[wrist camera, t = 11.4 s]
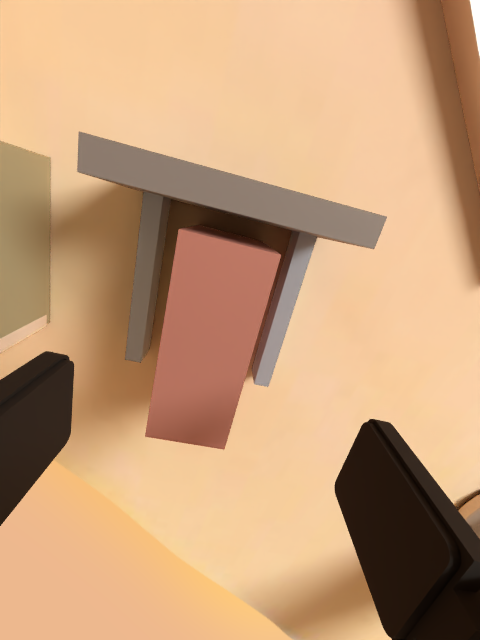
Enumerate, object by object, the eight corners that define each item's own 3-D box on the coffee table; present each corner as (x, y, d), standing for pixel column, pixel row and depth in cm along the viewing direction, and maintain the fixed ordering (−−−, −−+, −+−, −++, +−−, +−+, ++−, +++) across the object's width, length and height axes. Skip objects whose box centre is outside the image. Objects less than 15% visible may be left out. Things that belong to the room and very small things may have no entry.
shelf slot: (325, 217, 17) (387, 216, 10) (274, 373, 20) (295, 446, 14) (143, 168, 15) (78, 131, 9) (124, 343, 19) (69, 409, 13)
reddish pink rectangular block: (261, 240, 17) (281, 255, 11) (226, 375, 20) (224, 449, 14) (198, 224, 17) (177, 228, 10) (172, 364, 20) (143, 436, 13)
